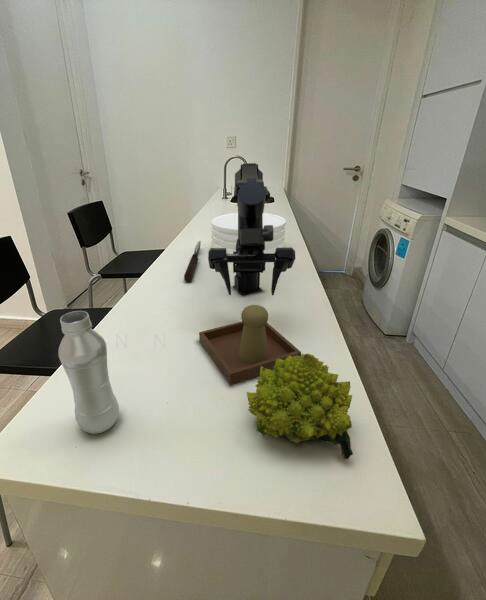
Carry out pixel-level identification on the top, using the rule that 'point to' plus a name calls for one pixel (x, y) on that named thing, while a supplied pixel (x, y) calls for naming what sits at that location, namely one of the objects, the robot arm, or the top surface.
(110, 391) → the plastic bottle
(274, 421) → the vegetable
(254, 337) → the cork
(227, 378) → the tray
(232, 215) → the plate stack
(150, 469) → the top surface
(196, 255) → the kitchen knife
